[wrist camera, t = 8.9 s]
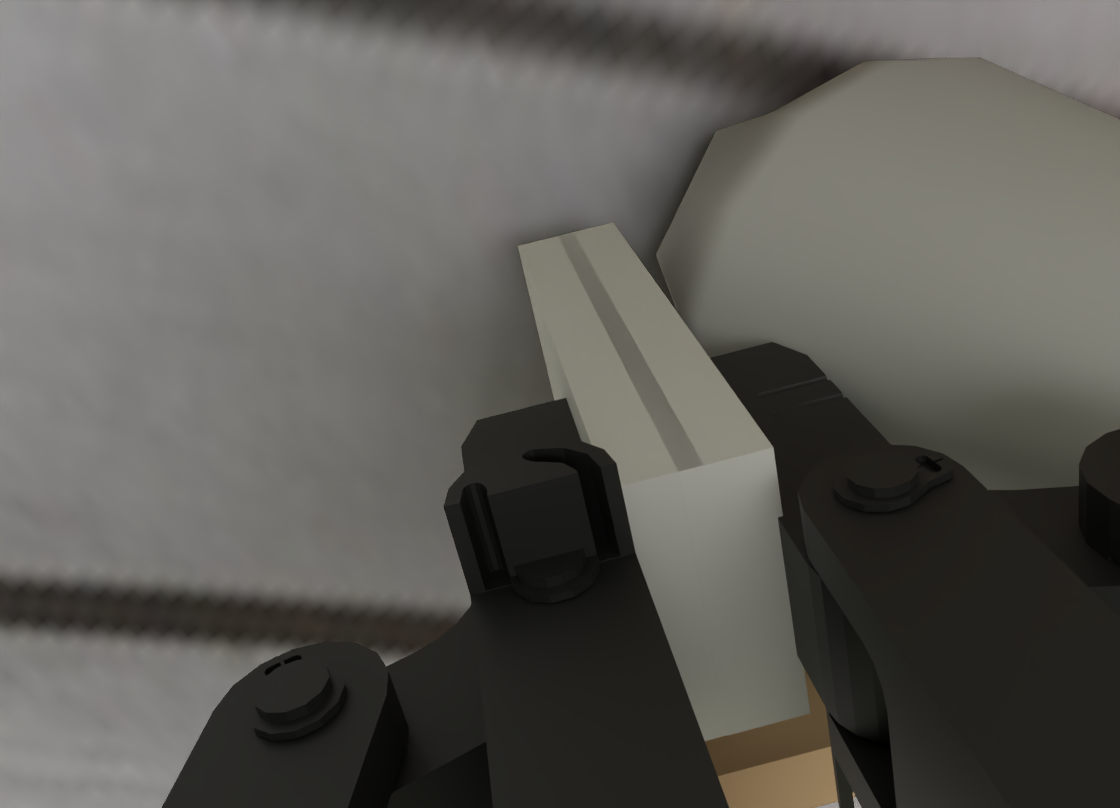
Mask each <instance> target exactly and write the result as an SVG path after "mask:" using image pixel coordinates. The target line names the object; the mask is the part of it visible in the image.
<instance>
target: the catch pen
mask: <svg viewBox="0 0 1120 808" xmlns="http://www.w3.org/2000/svg"><path fill="white" fill-rule="evenodd" d="M804 671H805V679H806V686H807V693H808V700H809V707H810V714H806V715H802V716H799V717H795V718H791V719H788V720H784V721H780V722H777V723H773V724H769V725H765V726H762V727H758V728H754V729H751V730H747V731H743V732H740V733H736V734H732V735H728V736H727V735H726V736H722V737H719V738H715V739H711V740H708V741H705V743H706V746H707V749H708V751H709V754H710V757H711V759H712V762H713V765H714V768H715V770H716V773H717V776H718V779H719V781H720V784H721V787H722V789H723V792H724V795H725V798H726V800H727V803H728V806H729V808H814V807H818V806H822V805H826V804H829V803H833V802H837V801H838V798H837V790H836V782H835V775H834V767H833V759H832V752H831V744H830V736H829V729H828V721H827V713H826V707H825V705H824V703H823V702H822V700H821V698H820V696H819V694H818V692H817V691H816V689H815V687H814V685H813V683H812V681H811V680H810V678H809V676H808V674H807V672H806V670H805V669H804ZM852 794H853V797H856V796H855V794H854V792H853V793H852Z"/></svg>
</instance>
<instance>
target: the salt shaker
mask: <svg viewBox="0 0 1120 808" xmlns="http://www.w3.org/2000/svg"><path fill="white" fill-rule="evenodd" d="M656 257H657V259H658V262H659V265H660V267H661V270H662V273H663V276H664V278H665V281H666V284H667V286H668V289H669V292H670V294H671V297H672V300H673V303H674V305H675V308H676V311H677V313H678V314H679V316H680V317H681V318H682V320H683V321H684V323H685V324H686V325H687V327H688V328H689V330H690V331H691V332H692V334H693V335H694V337H695V338H696V339H697V341H698V342H699V344H700V345H701V346H702V348H703V349H704V351H705V352H706V353H707V355H708V356H709V358H711V357H715V356H719V355H723V354H727V353H731V352H735V351H738V350H742V349H746V348H750V347H754V346H758V345H762V344H766V343H770V342H774V343H777V344H779V345H782V346H785V347H787V348H790V349H793V350H795V351H798V352H801V353H803V354H806V355H808V356H809V357H810V359H811V360H812V361H813V362H814V363H815V364H816V365H817V366H818V367H819V368H820V369H821V370H822V371H823V372H824V373H825V375H826V376H827V380H831V381H832V382H833V383H834V384H835V385H836V386H837V387H838V388H839V390H840V391H841V392H842V393H843V397H844V398H845V397H847V398H848V399H849V400H850V401H851V402H852V403H853V405H854V406H855V407H856V408H857V409H858V410H859V411H860V412H861V413H862V414H863V415H864V416H865V417H866V418H867V419H868V421H869V422H870V423H871V424H872V425H873V426H874V427H875V428H876V429H877V430H878V431H879V432H880V433H881V434H882V436H883V437H884V438H885V439H886V440H887V441H888V442H889V443H890V444H891V445H912V446H917V447H921V448H925V449H929V450H933V451H936V452H940V453H943V454H945V455H946V456H948V457H950V458H951V459H953V460H954V461H956V462H958V463H959V464H961V465H962V466H964V467H965V468H966V469H967V470H968V471H969V472H970V473H971V474H972V475H973V476H974V477H975V478H976V479H977V480H978V481H979V482H980V483H981V484H982V485H983V486H985V487H986V488H987V489H988V490H1024V489H1039V488H1055V487H1070V486H1079V463H1080V460H1081V458H1082V455H1083V453H1084V450H1085V448H1086V446H1088V445H1089V444H1091V443H1092V442H1094V441H1095V440H1097V439H1098V438H1100V437H1101V436H1103V435H1104V434H1105V433H1108V432H1111V431H1115V430H1118V429H1120V119H1117V118H1115V117H1113V116H1111V115H1108V114H1106V113H1104V112H1102V111H1099V110H1097V109H1095V108H1093V107H1090V106H1088V105H1086V104H1084V103H1081V102H1079V101H1077V100H1075V99H1072V98H1070V97H1068V96H1066V95H1063V94H1061V93H1059V92H1057V91H1054V90H1052V89H1050V88H1048V87H1045V86H1043V85H1041V84H1038V83H1036V82H1034V81H1032V80H1029V79H1027V78H1025V77H1023V76H1020V75H1018V74H1016V73H1014V72H1011V71H1009V70H1007V69H1005V68H1002V67H1000V66H998V65H996V64H993V63H991V62H989V61H987V60H984V59H982V58H933V59H910V60H886V61H864V62H862V63H860V64H858V65H857V66H855V67H853V68H851V69H849V70H848V71H846V72H844V73H842V74H840V75H839V76H837V77H835V78H833V79H831V80H830V81H828V82H826V83H824V84H822V85H820V86H819V87H817V88H815V89H813V90H811V91H810V92H808V93H806V94H804V95H802V96H801V97H799V98H797V99H795V100H793V101H791V102H790V103H788V104H786V105H784V106H782V107H781V108H779V109H777V110H775V111H773V112H771V113H768V114H765V115H762V116H759V117H756V118H753V119H750V120H747V121H744V122H741V123H738V124H735V125H732V126H729V127H726V128H723V129H720V130H717V131H716V132H715V134H714V136H713V138H712V140H711V142H710V144H709V146H708V148H707V150H706V152H705V154H704V156H703V159H702V161H701V163H700V165H699V167H698V169H697V171H696V173H695V175H694V177H693V179H692V181H691V183H690V185H689V187H688V190H687V192H686V194H685V196H684V198H683V200H682V202H681V204H680V206H679V208H678V210H677V212H676V214H675V216H674V218H673V221H672V223H671V225H670V227H669V229H668V231H667V233H666V235H665V237H664V239H663V241H662V243H661V245H660V247H659V249H658V251H657V254H656Z"/></svg>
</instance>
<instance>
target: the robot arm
mask: <svg viewBox="0 0 1120 808" xmlns="http://www.w3.org/2000/svg"><path fill="white" fill-rule="evenodd" d="M518 250H519V254H520V258H521V262H522V266H523V271H524V275H525V279H526V283H527V287H528V292H529V296H530V300H531V304H532V308H533V313H534V317H535V321H536V325H537V330H538V334H539V338H540V342H541V346H542V351H543V355H544V359H545V363H546V367H547V372H548V376H549V380H550V384H551V388H552V393H553V397H554V401H551V402H547V403H544V404H540V405H536V406H532V407H528V408H524V409H520V410H516V411H512V412H508V413H504V414H500V415H496V416H492V417H489V418H485V419H481V420H477V421H476V423H475V425H474V426H473V428H472V430H471V431H470V433H469V435H468V436H467V438H466V440H465V441H464V443H463V445H462V446H461V448H462V456H463V464H464V473H463V474H462V475H461V476H460V477H459V478H458V479H457V480H456V481H455V482H454V483H453V485H452V486H451V487H450V488H449V490H448V493H447V497H446V500H445V504H444V510H445V513H446V516H447V519H448V523H449V526H450V529H451V533H452V536H453V539H454V542H455V546H456V549H457V552H458V556H459V559H460V562H461V566H462V569H463V572H464V575H465V579H466V582H467V585H468V589H469V592H470V595H471V603H472V604H471V606H470V608H469V609H468V610H467V611H466V613H465V614H464V615H463V616H462V618H461V619H460V620H459V621H458V623H457V624H455V625H454V626H453V627H452V628H451V629H449V630H448V631H447V632H446V633H445V634H444V635H442V636H441V637H440V638H439V639H437V640H435V641H434V642H432V643H430V644H429V645H427V646H425V647H424V648H422V649H420V650H419V651H417V652H415V653H413V654H411V655H409V656H407V657H405V658H403V659H401V660H399V661H397V662H395V663H393V664H391V665H389V666H387V667H386V666H385V665H384V663H383V661H382V660H381V658H380V657H379V655H378V653H376V652H374V651H372V650H370V649H368V648H365V647H363V646H361V645H359V644H356V643H346V642H322V643H318V644H314V645H309V646H305V647H301V648H296V649H292V650H290V651H288V652H286V653H284V654H281V655H280V656H278V657H275V658H273V659H271V660H269V661H267V662H265V663H263V664H261V665H259V666H258V667H257V668H256V669H254V670H253V671H252V672H250V673H249V674H248V675H246V676H245V677H244V678H243V679H241V680H240V681H239V682H237V683H236V684H235V685H233V686H232V688H231V689H230V690H229V692H228V693H227V694H226V695H225V697H224V698H223V699H222V701H221V702H220V703H219V704H218V706H217V707H216V708H215V710H214V711H213V713H212V715H211V717H210V718H209V720H208V722H207V724H206V726H205V728H204V730H203V731H202V733H201V735H200V737H199V739H198V741H197V743H196V745H195V746H194V748H193V750H192V752H191V754H190V756H189V758H188V760H187V761H186V763H185V765H184V767H183V769H182V771H181V773H180V774H179V776H178V778H177V780H176V782H175V784H174V786H173V788H172V789H171V791H170V793H169V795H168V797H167V799H166V801H165V803H164V804H163V806H162V808H729V806H728V803H727V800H726V798H725V795H724V792H723V789H722V787H721V784H720V781H719V779H718V776H717V773H716V770H715V768H714V765H713V762H712V759H711V757H710V754H709V751H708V749H707V746H706V743H705V741H708V740H711V739H715V738H719V737H722V736H726V735H727V736H728V735H732V734H736V733H740V732H743V731H747V730H751V729H754V728H758V727H762V726H765V725H769V724H773V723H777V722H780V721H784V720H788V719H791V718H795V717H799V716H802V715H806V714H810V707H809V700H808V693H807V686H806V679H805V671H804V669H805V670H806V672H807V674H808V676H809V678H810V680H811V681H812V683H813V685H814V687H815V689H816V691H817V692H818V694H819V696H820V698H821V700H822V702H823V703H824V705H825V707H826V713H827V721H828V729H829V736H830V744H831V752H832V759H833V767H834V775H835V782H836V790H837V798H838V803H839V807H840V808H854V802H853V794H852V793H853V792H854V794H855V796H856V797H857V799H858V801H859V803H860V805H861V807H862V808H1120V429H1118V430H1115V431H1111V432H1108V433H1105V434H1104V435H1103V436H1101V437H1100V438H1098V439H1097V440H1095V441H1094V442H1092V443H1091V444H1089V445H1088V446H1086V448H1085V450H1084V453H1083V455H1082V458H1081V460H1080V463H1079V486H1070V487H1055V488H1039V489H1024V490H988V489H987V488H986V487H985V486H983V485H982V484H981V483H980V482H979V481H978V480H977V479H976V478H975V477H974V476H973V475H972V474H971V473H970V472H969V471H968V470H967V469H966V468H965V467H964V466H962V465H961V464H959V463H958V462H956V461H954V460H953V459H951V458H950V457H948V456H946V455H945V454H943V453H940V452H936V451H933V450H929V449H925V448H921V447H917V446H912V445H891V444H890V443H889V442H888V441H887V440H886V439H885V438H884V437H883V436H882V434H881V433H880V432H879V431H878V430H877V429H876V428H875V427H874V426H873V425H872V424H871V423H870V422H869V421H868V419H867V418H866V417H865V416H864V415H863V414H862V413H861V412H860V411H859V410H858V409H857V408H856V407H855V406H854V405H853V403H852V402H851V401H850V400H849V399H848V398H847V397H845V398H844V397H843V393H842V392H841V391H840V390H839V388H838V387H837V386H836V385H835V384H834V383H833V382H832V381H831V380H827V376H826V375H825V373H824V372H823V371H822V370H821V369H820V368H819V367H818V366H817V365H816V364H815V363H814V362H813V361H812V360H811V359H810V357H809V356H808V355H806V354H803V353H801V352H798V351H795V350H793V349H790V348H787V347H785V346H782V345H779V344H777V343H774V342H770V343H766V344H762V345H758V346H754V347H750V348H746V349H742V350H738V351H735V352H731V353H727V354H723V355H719V356H715V357H711V358H709V356H708V355H707V353H706V352H705V351H704V349H703V348H702V346H701V345H700V344H699V342H698V341H697V339H696V338H695V337H694V335H693V334H692V332H691V331H690V330H689V328H688V327H687V325H686V324H685V323H684V321H683V320H682V318H681V317H680V316H679V314H678V313H677V311H676V310H675V309H674V307H673V306H672V304H671V303H670V302H669V300H668V299H667V297H666V296H665V295H664V293H663V292H662V290H661V289H660V287H659V286H658V285H657V283H656V282H655V280H654V279H653V278H652V276H651V275H650V273H649V272H648V271H647V269H646V268H645V266H644V265H643V264H642V262H641V261H640V259H639V258H638V257H637V255H636V254H635V252H634V251H633V250H632V248H631V247H630V245H629V244H628V243H627V241H626V240H625V238H624V237H623V236H622V234H621V233H620V231H619V230H618V229H617V227H616V226H615V224H614V223H608V224H604V225H600V226H596V227H592V228H588V229H584V230H580V231H576V232H572V233H568V234H564V235H560V236H556V237H552V238H548V239H544V240H540V241H536V242H532V243H528V244H524V245H519V246H518Z"/></svg>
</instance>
